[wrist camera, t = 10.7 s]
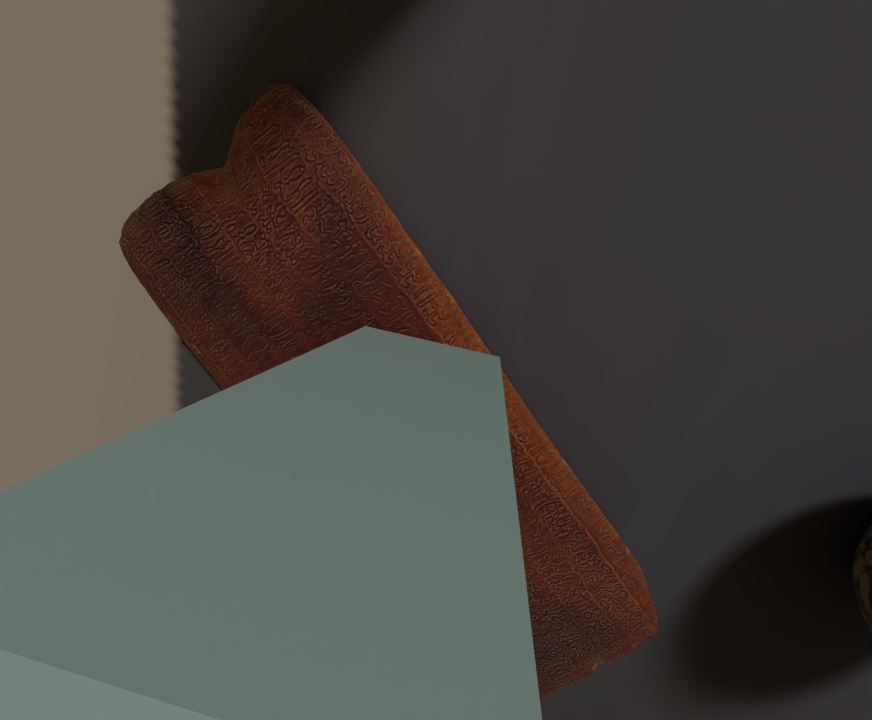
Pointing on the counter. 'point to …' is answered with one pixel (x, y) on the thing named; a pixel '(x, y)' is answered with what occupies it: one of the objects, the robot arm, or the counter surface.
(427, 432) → the tall board
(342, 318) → the wooden tablet
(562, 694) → the counter surface
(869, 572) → the decorative egg
